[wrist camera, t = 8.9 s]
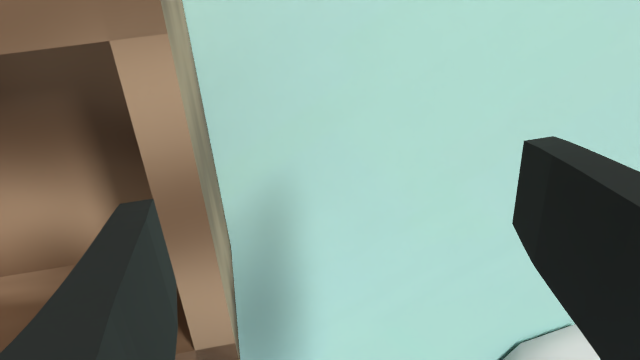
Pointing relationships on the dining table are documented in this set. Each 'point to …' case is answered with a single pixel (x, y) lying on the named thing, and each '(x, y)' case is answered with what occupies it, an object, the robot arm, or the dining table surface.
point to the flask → (555, 347)
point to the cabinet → (107, 156)
